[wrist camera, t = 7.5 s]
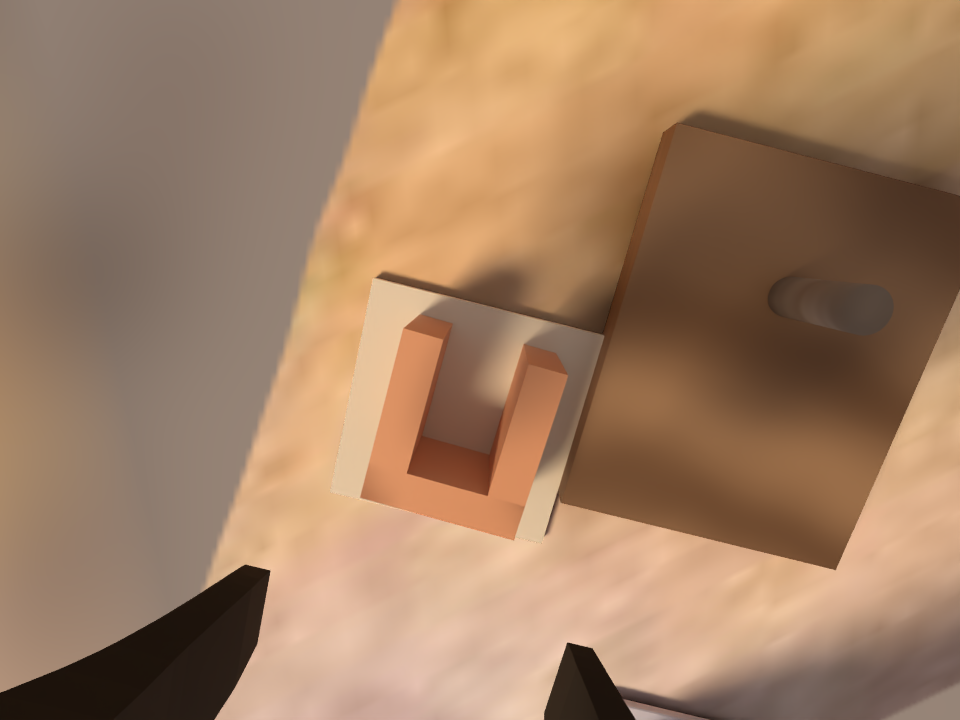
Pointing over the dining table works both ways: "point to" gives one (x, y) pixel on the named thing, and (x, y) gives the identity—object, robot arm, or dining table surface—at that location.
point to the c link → (450, 468)
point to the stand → (762, 345)
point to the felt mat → (464, 385)
